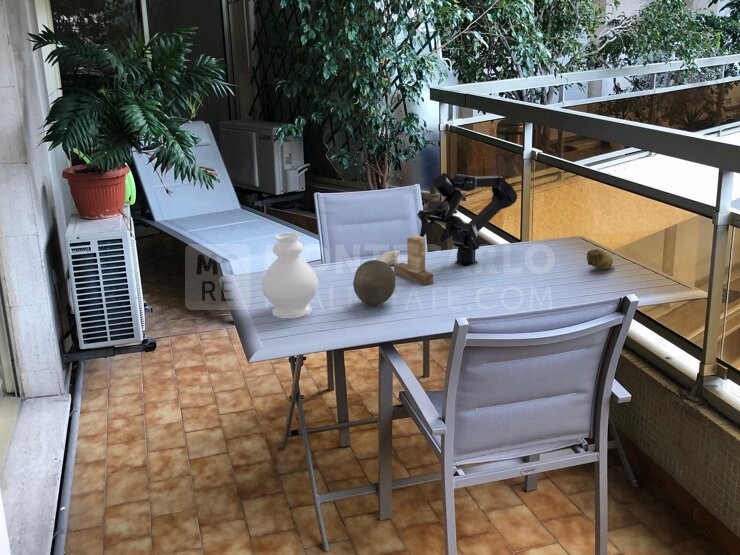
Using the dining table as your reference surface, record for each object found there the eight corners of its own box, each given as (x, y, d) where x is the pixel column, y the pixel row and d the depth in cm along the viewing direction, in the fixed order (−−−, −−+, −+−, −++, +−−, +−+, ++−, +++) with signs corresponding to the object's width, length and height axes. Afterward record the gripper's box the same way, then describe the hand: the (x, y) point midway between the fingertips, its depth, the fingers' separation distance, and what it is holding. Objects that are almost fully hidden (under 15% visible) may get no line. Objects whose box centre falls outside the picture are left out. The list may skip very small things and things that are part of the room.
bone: (383, 249, 287) (387, 262, 288) (353, 269, 271) (357, 283, 273) (399, 248, 282) (403, 261, 284) (370, 268, 267) (374, 282, 268)
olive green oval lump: (621, 269, 270) (623, 247, 267) (594, 274, 264) (596, 253, 262) (605, 263, 277) (607, 242, 274) (578, 268, 272) (580, 247, 269)
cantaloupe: (345, 303, 242) (343, 259, 238) (382, 295, 249) (381, 252, 244) (366, 316, 230) (365, 270, 226) (405, 307, 237) (404, 263, 232)
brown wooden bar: (402, 271, 274) (402, 262, 273) (433, 283, 260) (433, 273, 259) (393, 273, 272) (393, 264, 271) (424, 285, 257) (424, 276, 256)
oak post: (415, 267, 266) (415, 235, 262) (425, 270, 263) (425, 237, 259) (407, 270, 263) (407, 237, 259) (416, 273, 260) (416, 239, 256)
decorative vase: (272, 325, 225) (267, 246, 217) (257, 307, 241) (251, 233, 233) (327, 315, 232) (324, 238, 224) (309, 299, 247) (305, 226, 240)
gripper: (420, 188, 269) (399, 223, 266) (460, 194, 257) (439, 231, 253) (434, 205, 277) (415, 240, 273) (474, 212, 264) (454, 249, 260)
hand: (430, 239), depth 265 cm, fingers open, 9 cm apart
